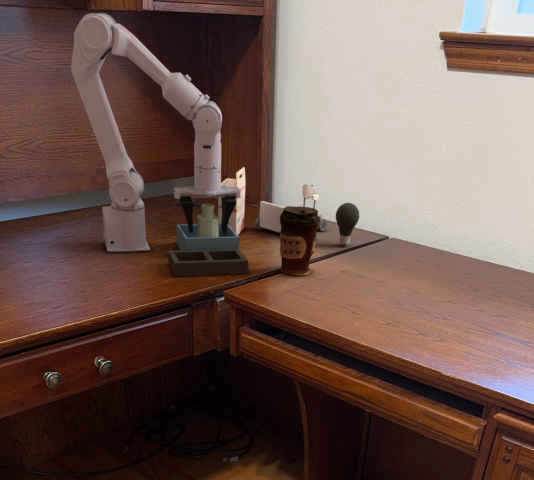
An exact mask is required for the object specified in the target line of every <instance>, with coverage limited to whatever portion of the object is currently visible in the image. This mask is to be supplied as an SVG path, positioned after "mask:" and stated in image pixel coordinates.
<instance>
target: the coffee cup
mask: <svg viewBox="0 0 534 480" xmlns="http://www.w3.org/2000/svg"><path fill="white" fill-rule="evenodd" d="M284 207H285V208H284V209H283V210H284V211H283V212H282V214H281V215H280V224H281V232H279V254H280V259H281V260H280V261H281V265H280V271H281V272H283V273H285V274H287V275H293V276H307V275H309V274H310V273H311V269H310V261H311V258H312V256H313V255H314V253H315V246H316V244H317V232H318V226H319V222H320V217H319V216H318V214H319V210H317V209H316V208H315V209H314V208H313V207H310V206H305V207H303V206H302V205H301V206H291V205H289V206H284Z"/></svg>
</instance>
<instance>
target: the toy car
mask: <svg viewBox="0 0 534 480" xmlns="http://www.w3.org/2000/svg"><path fill="white" fill-rule="evenodd" d="M302 197H303V205H302V207H306V200H309V199H310V200H312V201H313V207H312V208H314V209H316V202H317V201H318V200H320V197H321V195H320V194H317V191H316V190H315V188H314V185H313V184H311V185H309V184H303V185H302ZM285 207H286V206H283V205H280V204H276V203H272V202H268V201H264V200H262V201H260V202H259V217H257V218H256V219H255V220H254V229H255V230H257V231H261V230H263V229H267V230H270V231H273V232H276V233H280V232H281V224H280V215H281V214H282V212H283V211H284V210H283V209H284V208H285ZM317 214H318V216H319V217H320V222H319V226H318V229H317V231H319V232H324V231H325V230H326V229H327V227H328V221H327V220H326V219H325V218H323V215H322V214H319V213H317Z"/></svg>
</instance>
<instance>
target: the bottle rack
mask: <svg viewBox="0 0 534 480" xmlns="http://www.w3.org/2000/svg"><path fill="white" fill-rule="evenodd" d="M167 254H168V255H167V257H168V258H167V259H168V265H169V267H170V269H171V271H172V273H173V275H174V277H200V276H201V277H202V276H223V275H224V276H227V275H248V274H249V260H248V259H247V257H246V256H245V255H244V254H243V252H242V251H241V250H240V248H239V249H214V250H167Z"/></svg>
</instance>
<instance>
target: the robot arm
mask: <svg viewBox="0 0 534 480" xmlns="http://www.w3.org/2000/svg"><path fill="white" fill-rule="evenodd" d="M72 48H73V49H72V57H71V64H70V70H71V74H72V77H73V79H74V83H75V85H76V87H77V90H78V93H79V96H80V98H81V101H82V104H83V106H84V109H85V111H86V115H87V118H88V121H89V123H90V124H91V128H92V130H93V133H94V136H95V139H96V141H97V144H98V147H99V150H100V153H101V155H102V158H103V160H104V163H105V171H106V178H107V180H108V184H109V185H108V186H109V187H108V195H109V199H110V200H111V203H110V205H108V206H102V208H101V211H102V225H103V233H102V237H103V242H104V245H105V249H106V252H107V253H119V252H150V251H151V247H150V245H149V243H148V241H147V230H146V210H145V203H144V201H143V200H142V198H141V196H142V194H143V193H144V191H145V181H144V179H143V177H142V176H141V175H140V174H139V173H138V171H137V170H136V168H135V166H134V163H133V161H132V160H131V158H130V157H129V156H128V153H127V150H126V148H125V145H124V144H125V143H124V142H123V139H122V136H121V133H120V130H119V127H118V125H117V122H116V118H115V115H114V113H113V110H112V107H111V104H110V102H109V98H108V96H107V94H106V90H105V87H104V84H103V82H102V79H101V77H100V71H101V70H102V67H103V64H104V63H105V59H106V58H107V56H108V55H109V54H111V55H115V56H118V57H119V56H120V57H124V58H128V59H129V60H130V61H132V62H133V63H134V64H135V65H136V66H137V67H138V68H139V69H141V70H142V71H143V72H144V73H145V74H146V75H147V76H148V77H150V78H151V79H152V80H153V81H154V82H155V83H156V84H157V85H159V86H160V87H161V91H162V97H163V99H164V100H165V101H166V102H168V103H169V104H170V105H171V106H172V107H173V108H174V109H175V110H176V111H177V112H178V113H179V114H180V115H182V116H183V117H184V118H185V119H186V120H188V121H191V122H192V126H193V129H194V133H195V134H194V135H195V136H194V137H195V138H194V142H193V155H194V156H193V157H194V159H193V162H194V163H193V166H194V167H193V173H194V178H193V179H194V180H193V181H194V182H193V183H194V185H191V186H179V187H177V186H176V187H173V197H174V199H176V200H178V201H179V203H180V206H181V208H182V210H183V213H184V215H185V219H186V224H188V231H189V232H190V233H193V224H194V220H193V218H194V217H193V215H194V214H193V213H194V202H193V199H218V198H221V202H222V222H221V229H222V231H223V232H226V231H227V226H228V222H229V219H230V216H231V214H232V212H233V210H234V208H235V206H236V203H237V200H236V198H240V196H241V189H240V188H239V187H224V186H221V183H222V143H221V140H222V134H221V130H222V129H221V128H222V124H223V115H222V111H221V109H220V107H219V106H218V105H217V103H216V102H214V101H212V100H210V96H209V95H208V94H207V93H206V94H203V93H202V91H200V89H198V88H197V87H196V85H194V84H193V83H192V82H191V81H192V78H191V77H190V76H189V75H188V74H185V75H184V74H182V73H181V72H171V71H170V70H169V69H168V68H167V67H165V65H164V63H162V62H161V61H160V60H159V59H158V58H157V57H156V56H155V55H154V54H153V53H152V52H151V51H150V50H149V49H148V48H147V47H146V46H145V44H144V43H142V42H141V40H139V39H138V38H137V36H135V35H134V33H132V32H131V31H129V30H128V29H127V28H126V27H125V26H123V25H122V24H120V23H117V21H116V20H115V19H114V18H113V17H112V16H111V15H109V14H107V13H105V12H98V13H93V12H91V13H87V14H85V15H83V17H82V18H81V19H80V20H79V23H78V25H77V26H76V28H75V30H74V32H73V47H72Z"/></svg>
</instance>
